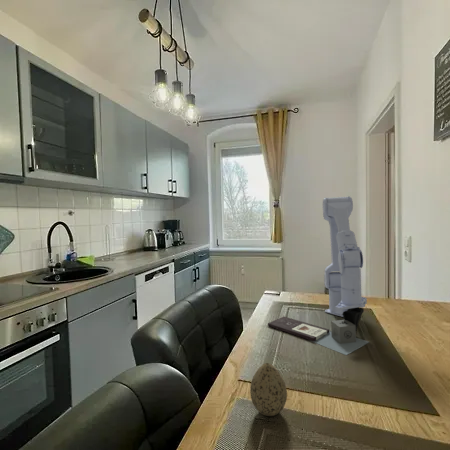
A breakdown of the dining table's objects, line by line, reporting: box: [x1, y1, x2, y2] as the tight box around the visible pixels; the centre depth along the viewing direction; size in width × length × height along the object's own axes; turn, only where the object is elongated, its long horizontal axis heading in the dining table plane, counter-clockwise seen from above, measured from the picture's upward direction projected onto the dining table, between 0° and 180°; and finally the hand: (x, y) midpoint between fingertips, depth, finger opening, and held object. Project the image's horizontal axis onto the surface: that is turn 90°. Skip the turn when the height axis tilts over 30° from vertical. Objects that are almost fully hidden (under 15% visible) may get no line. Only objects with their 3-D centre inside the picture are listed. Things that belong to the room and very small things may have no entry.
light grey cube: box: [330, 319, 357, 344], centre depth 89 cm, size 5×5×5 cm
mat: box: [309, 330, 370, 356], centre depth 87 cm, size 12×12×1 cm
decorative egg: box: [249, 362, 288, 417], centre depth 58 cm, size 7×7×10 cm
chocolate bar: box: [267, 316, 330, 342], centre depth 97 cm, size 9×1×18 cm
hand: (352, 330), depth 92 cm, fingers closed
